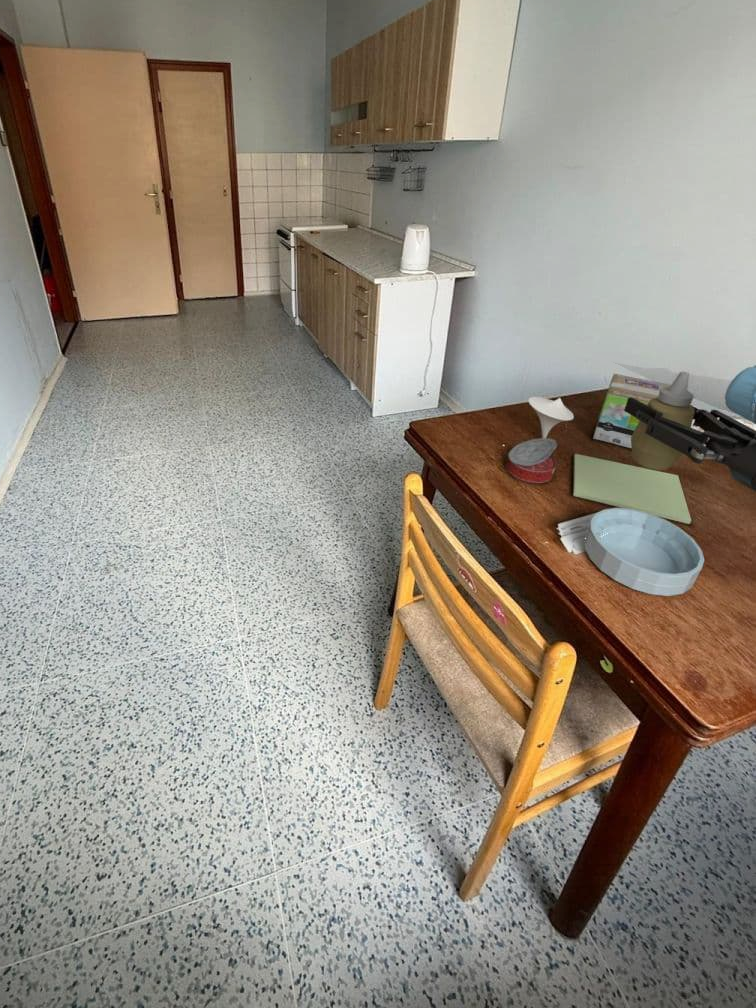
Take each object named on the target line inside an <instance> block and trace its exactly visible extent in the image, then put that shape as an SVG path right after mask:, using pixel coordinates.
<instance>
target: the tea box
mask: <svg viewBox="0 0 756 1008" xmlns="http://www.w3.org/2000/svg"><path fill="white" fill-rule="evenodd" d="M671 385H672V384H669V383H668V384H667V383H662V382H658V381H652V380H647V379H642V378H638V377H632V376H627V375H623V374H618V373H613V375H612V377H611V380H610V383H609V386H608V388H607V392H606V395H605V398H604V400H603V404H602V407H601V410H600V412H599V414H598V415H599V416H598V419H597V422H596V426H595V430H594V432H593V433H594V434H593V437H592V439H593V440H598V441H603V442H606V443H611V444H614V445H618V446H621V447H624V448H628V449H632V447H631V437H632V435H633V433H634V431H635V429H636V427H637V425H638V423H639V421H640V420H638V419H637V418H636V417H634V416H632V415H630V414H629V413H627V412H625V411H624V409H625V406H626V403H627V400H628V398H631V397H632V398H634V399H636V400H638V401H640V402H642V403H643V404H645V405H648V403H649V401H650V400H652V399H653V398H656V397H658V395H659V392H660V390H661V389H662V388H663V387H670V386H671Z"/></svg>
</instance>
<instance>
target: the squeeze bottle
mask: <svg viewBox="0 0 756 1008" xmlns="http://www.w3.org/2000/svg"><path fill="white" fill-rule="evenodd" d="M689 376H690V373H689V372H687V371H679V373H678V375H677V376H676V377H675V379H674V380H673V382H672V383H671V384H670V385H671V386H670V387H663V388H662V389H661V390H660V392H659V395H658V397H656V398H653V399H652V400H650V401H649V403H648V405H647V406H649V407H651V408H652V409H654V410H656V411H658V412H662V413H663V415H662V417H664V418H666V419H669V420H672V421H674V422H677V423H680V424H682V425H685V426H688V427H690V428H692V425H693V422H694V421H693V420H694V419H693V417H694V413H695V410H694V408H693V407H694V406H693V405H692V402H693V399H694V397H695V396H694V394H693V393H692V392H691V391H688V387H689ZM692 406H693V407H692ZM646 428H647V424H645V423H644V422H642V421H639V423H638V425H637V427H636V429H635V431H634V433H633V435H632V437H631V447H632V448H631V456H632V458H631V459H632V460H633V461H634V463H635V462H636V463H637V464H638V465H640V466H642V467H643V468H646V469H650V470H655V471H664V470H668V469H669V468H670V467H671V466H672V465H673V464H675V462H676V461H677V460H678V459H679V458H680V457H681V456H682V455H684V454H683V453H681V452H679V451H677V450H675V449H674V448H672V447H670V446H668V445H666V444H664V443H662V442H661V441H659V440H657V439H655V438H653V437H651V436H650V435H648V434H646V433H645V431H646Z"/></svg>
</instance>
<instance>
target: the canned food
mask: <svg viewBox="0 0 756 1008" xmlns="http://www.w3.org/2000/svg"><path fill="white" fill-rule="evenodd" d="M557 447H558V443H557V440H556V439H553V438H550V437H546V438H542V437H540V438H532V439H530V440H526V441H522V442H521V443H519V444H516V445H515V446H514V447H513V448H511V449H510V451H509V452H508V455H507V460H506V464H505V467H506V470H507V471H508V473H509V474H510V475H512V476H513V477H515V478H516V479H519V480H521V481H523V482H528V483H532V484H541V483H545V482H546V483H547V482H549V481H551V480H552V479H553V477H554V473H555V469H556V466H557V462H556V460H555V458H554V457H553V456H552V454H553V452H554V451H555V450H556V449H557Z"/></svg>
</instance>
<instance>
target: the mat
mask: <svg viewBox="0 0 756 1008" xmlns="http://www.w3.org/2000/svg"><path fill="white" fill-rule="evenodd" d="M573 455H574V456H573V483H572V485H573V487H572V496H573V497H577V498H581V499H585V500H589V501H592V502H593V501H594V502H596V503H602V504H605V505H610V506H613V507H616V508H626V509H634V510H638V511H642V512H647V513H650V514H652V515H655V516H657V517H660V518H662V519H665V520H671V521H675V522H678V523H683V524H687V525H691V522H692V518H691V514H690V511H689V508H688V504H687V501H686V498H685V497H686V496H685V493H684V491H683V488H682V484H681V481H680V477H679V475H678V474H673V473H669V472H663V471H661V470H655V469H651V468H646V467H640V466H635V465H630V464H626V463H622V462H616V461H612V460H607V459H603V458H597V457H593V456H587V455H582V454H579V453H574V454H573Z"/></svg>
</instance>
